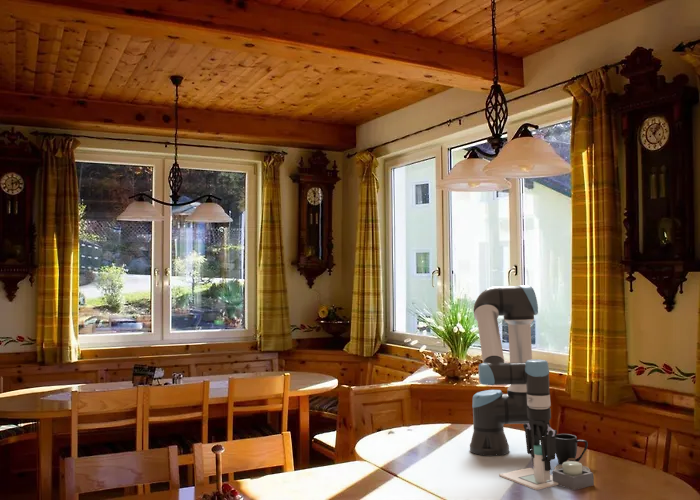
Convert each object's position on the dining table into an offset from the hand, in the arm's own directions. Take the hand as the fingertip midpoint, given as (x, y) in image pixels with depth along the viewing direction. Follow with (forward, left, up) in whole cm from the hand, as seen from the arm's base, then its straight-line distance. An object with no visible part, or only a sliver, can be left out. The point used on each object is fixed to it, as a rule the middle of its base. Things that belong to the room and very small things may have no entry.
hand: (542, 478), depth 214 cm
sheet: (-5, +1, -2) cm, 5 cm away
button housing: (+6, +8, -2) cm, 10 cm away
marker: (0, 0, -1) cm, 1 cm away
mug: (-11, +25, -2) cm, 27 cm away
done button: (+6, +8, +1) cm, 10 cm away
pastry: (-5, +18, -2) cm, 19 cm away
